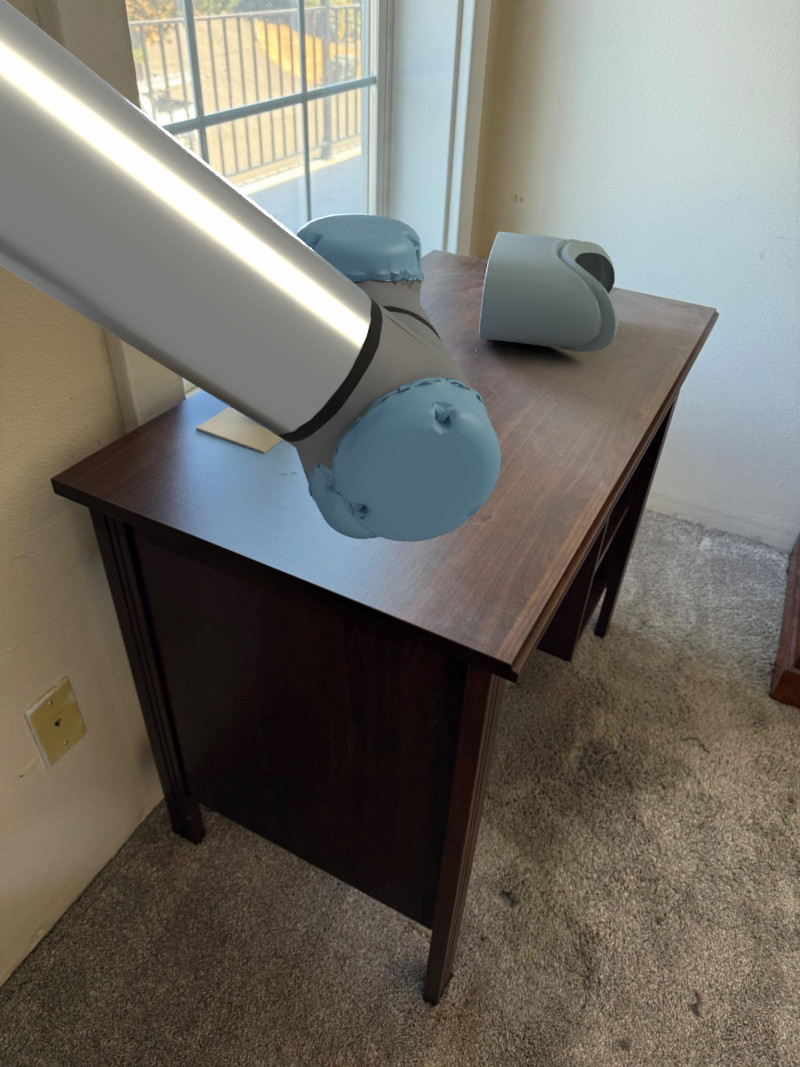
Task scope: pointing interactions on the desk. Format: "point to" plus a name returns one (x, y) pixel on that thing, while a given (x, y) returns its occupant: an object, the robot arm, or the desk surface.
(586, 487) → the desk surface
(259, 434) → the mat
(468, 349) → the desk surface
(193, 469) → the desk surface
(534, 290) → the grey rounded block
